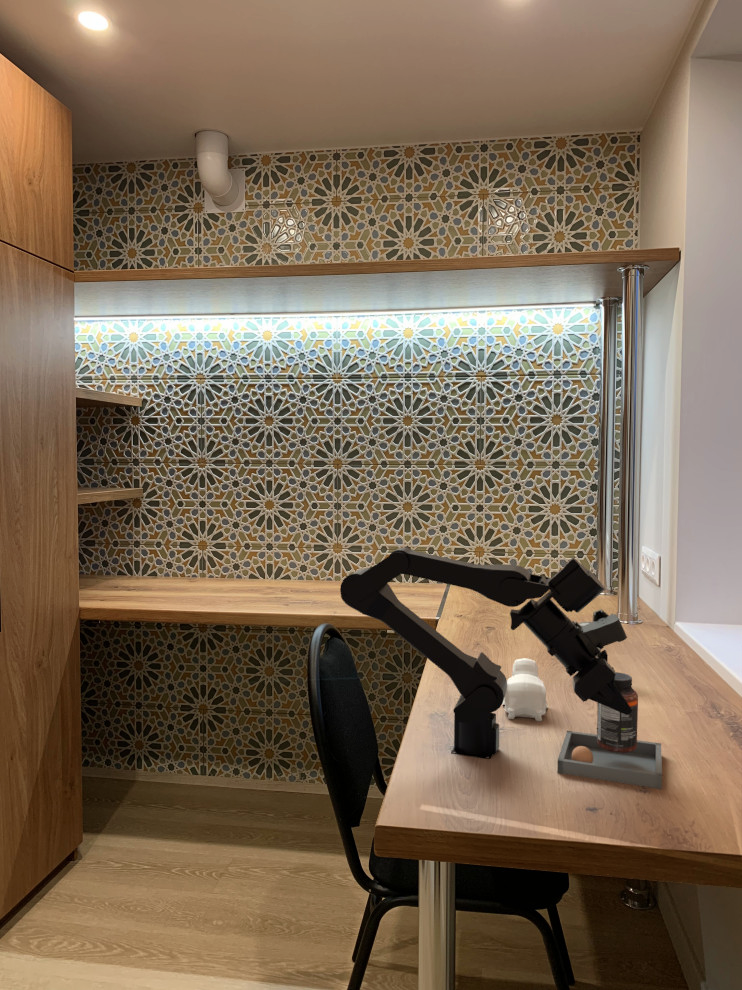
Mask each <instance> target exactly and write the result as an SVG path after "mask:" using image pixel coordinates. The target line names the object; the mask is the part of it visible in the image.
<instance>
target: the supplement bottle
mask: <svg viewBox="0 0 742 990" xmlns="http://www.w3.org/2000/svg"><path fill="white" fill-rule="evenodd" d="M615 674H616V675H615V681H614V683H615V685H616V686H617V688H618V689H619V691H620V692H621V694H622V695H623V697H624V698H625V700H626V701H627V703H628V704H629V706H630V707H631V709H632V712H631V713H630V714H629V715H625V714H623V713H621V712H619V711H616V710H614V709H612V708H610V707H607V706H605V705H603V704H600V703H598V702H597V716H596V717H597V718H596V720H597V721H596V723H597V724H596V726H597V727H596V735H597V743H598V745H599V746H600V747H601V748H603V749H605V750H607V751H610V752H614V753H629V752H632V751H634V750H635V749H636V747H637V740H638V718H639V717H638V716H639V715H638V712H639V704H638V703H639V695H638V693H637V691H636V690H635V689H633V686H632V685H633V678H632V676H631V675H629V674H626V673H624V672H623V673H622V672H618V671H617V672H616V671H615Z"/></svg>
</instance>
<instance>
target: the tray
mask: <svg viewBox="0 0 742 990" xmlns="http://www.w3.org/2000/svg"><path fill="white" fill-rule="evenodd" d="M578 746H585V747H587V748H588V749H590V751H591V752H592V754H593V762H592V763H587V762H581V761H574V760H572V752H573V750H574V749H575V748H576V747H578ZM662 763H663V762H662V743H660V742H655V741H654V742H653V741H647V740H639V739H637V747H636V749H635V750H634V751H632V752H629V753H614V752H610V751H607V750H605V749H603V748H601V747H600V746H599V745H598V743H597V734H594V733H588V732H580V731H579V732H578V731H572V730H566V733H565V736H564V738H563V742H562V745H561V748H560V751H559V754H558V758H557V773H558V774H562V775H569V776H574V777H582V778H587V779H595V780H601V781H607V782H614V783H620V784H626V785H634V786H640V787H644V788H645V787H646V788H651V789H659V790H662V785H663V784H662V781H663V780H662V779H663V774H662V773H663V772H662V771H663V769H662Z"/></svg>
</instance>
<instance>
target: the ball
mask: <svg viewBox="0 0 742 990" xmlns="http://www.w3.org/2000/svg"><path fill="white" fill-rule="evenodd" d="M572 760H574V761H581V762H587V763H592V762H593V754H592V752H591V751H590V749H588V748H587V747H585V746H578V747H576V748H575V749H574V750H573V752H572Z"/></svg>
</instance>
